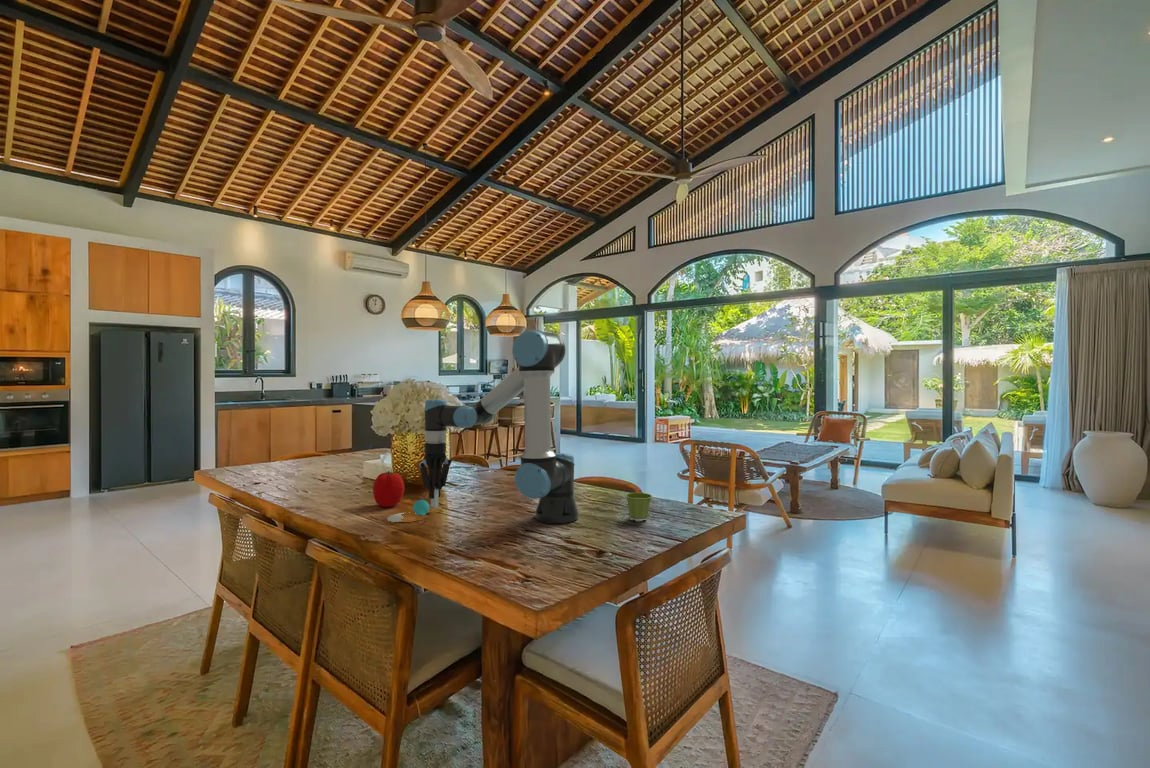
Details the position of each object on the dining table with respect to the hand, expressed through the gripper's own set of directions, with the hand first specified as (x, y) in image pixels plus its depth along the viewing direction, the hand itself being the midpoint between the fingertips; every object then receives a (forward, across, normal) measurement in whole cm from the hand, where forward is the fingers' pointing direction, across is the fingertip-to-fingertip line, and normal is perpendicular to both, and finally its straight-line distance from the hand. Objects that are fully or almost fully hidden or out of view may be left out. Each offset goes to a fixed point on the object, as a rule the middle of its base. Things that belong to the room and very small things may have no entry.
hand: (434, 506), depth 192 cm
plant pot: (+2, -46, +57) cm, 73 cm away
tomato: (+2, +8, -19) cm, 21 cm away
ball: (-1, +6, 0) cm, 6 cm away
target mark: (+2, +11, 0) cm, 11 cm away
